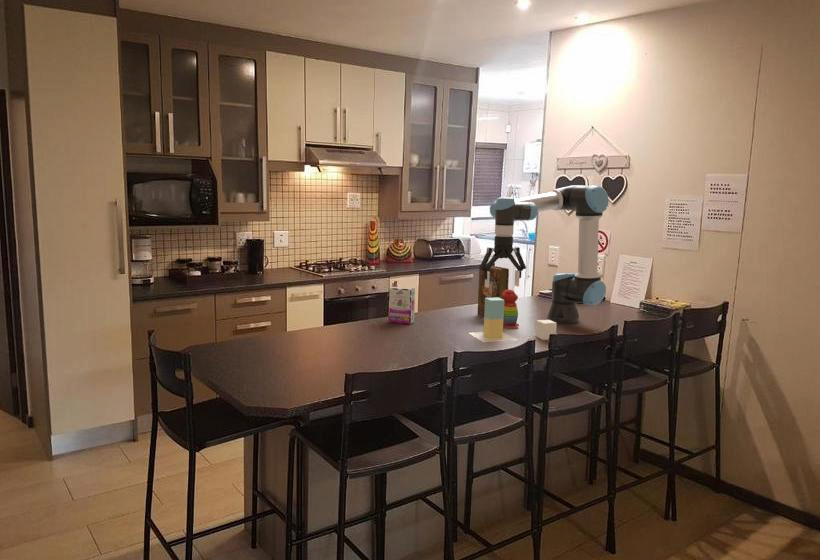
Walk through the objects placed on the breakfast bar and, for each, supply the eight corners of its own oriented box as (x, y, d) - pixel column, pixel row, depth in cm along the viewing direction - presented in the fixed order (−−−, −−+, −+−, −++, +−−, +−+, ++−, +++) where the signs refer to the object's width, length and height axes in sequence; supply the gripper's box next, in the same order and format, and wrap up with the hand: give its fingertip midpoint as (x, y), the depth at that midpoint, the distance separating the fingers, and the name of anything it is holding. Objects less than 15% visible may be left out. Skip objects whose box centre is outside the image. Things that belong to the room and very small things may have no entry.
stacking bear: (518, 331, 268) (520, 292, 265) (495, 330, 270) (497, 290, 267) (519, 326, 279) (521, 288, 276) (497, 324, 281) (498, 287, 278)
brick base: (496, 334, 258) (497, 315, 257) (502, 337, 253) (503, 318, 252) (483, 335, 257) (484, 316, 255) (489, 338, 251) (490, 319, 250)
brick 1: (497, 315, 257) (498, 297, 256) (503, 318, 252) (504, 300, 250) (484, 316, 255) (485, 297, 254) (490, 319, 250) (491, 300, 249)
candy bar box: (414, 322, 281) (415, 287, 279) (410, 324, 277) (411, 289, 274) (392, 320, 285) (393, 285, 283) (388, 322, 281) (388, 287, 278)
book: (475, 315, 301) (477, 265, 297) (484, 313, 304) (486, 264, 300) (498, 321, 288) (500, 269, 284) (506, 320, 291) (509, 268, 287)
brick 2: (548, 338, 258) (549, 319, 257) (555, 341, 253) (556, 322, 251) (535, 338, 257) (536, 320, 255) (542, 342, 251) (543, 323, 250)
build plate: (501, 333, 265) (501, 330, 265) (518, 342, 250) (518, 340, 250) (467, 335, 260) (467, 332, 260) (483, 344, 245) (483, 342, 245)
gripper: (527, 234, 255) (524, 284, 259) (472, 235, 248) (470, 286, 251) (535, 236, 248) (533, 287, 252) (479, 236, 241) (477, 289, 244)
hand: (501, 286), depth 252 cm, fingers open, 13 cm apart
